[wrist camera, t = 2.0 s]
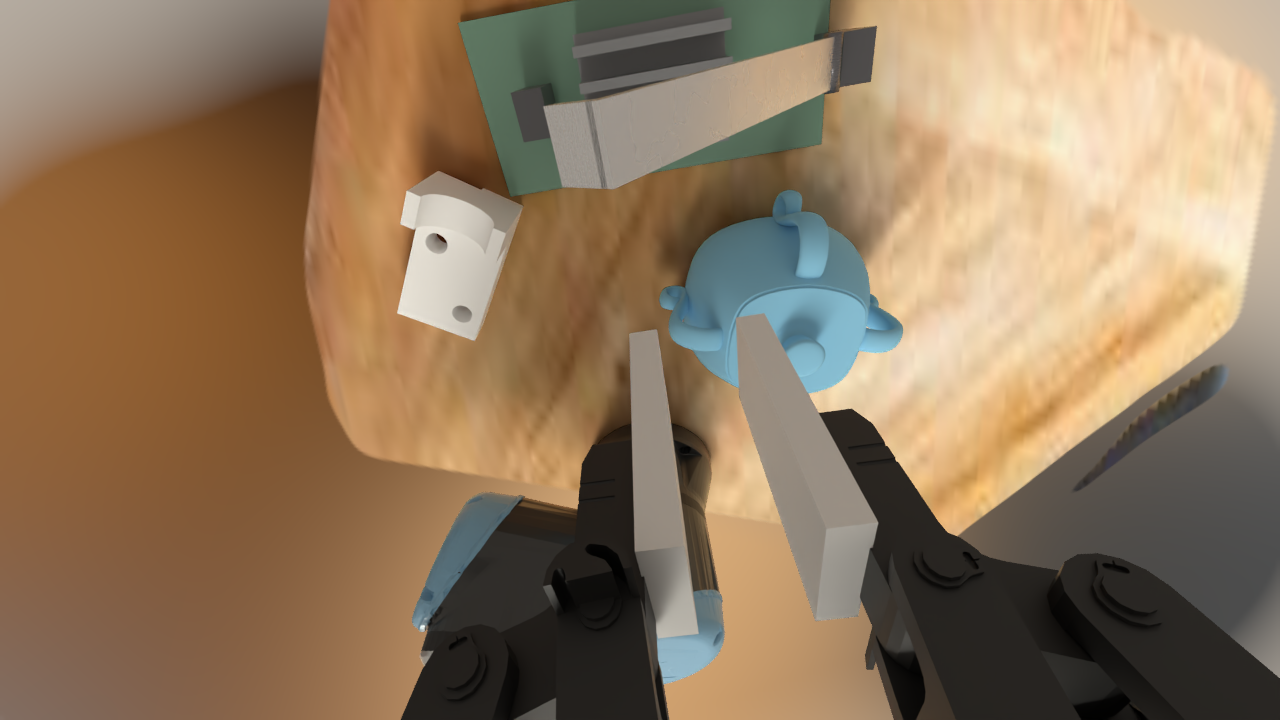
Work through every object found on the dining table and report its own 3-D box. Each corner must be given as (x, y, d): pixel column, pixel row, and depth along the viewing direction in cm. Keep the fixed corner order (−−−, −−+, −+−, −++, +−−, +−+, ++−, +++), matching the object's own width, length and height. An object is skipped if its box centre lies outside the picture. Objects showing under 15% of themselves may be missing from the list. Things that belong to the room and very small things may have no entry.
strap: (796, 93, 32) (841, 89, 30) (563, 192, 18) (621, 195, 16) (798, 37, 30) (846, 29, 28) (541, 100, 16) (603, 92, 15)
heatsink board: (830, 140, 38) (862, 154, 33) (512, 194, 40) (495, 215, 34) (843, -51, 31) (887, -71, 26) (461, 23, 33) (431, 18, 28)
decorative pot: (726, 377, 51) (756, 469, 40) (642, 269, 44) (650, 345, 32) (866, 297, 46) (945, 377, 35) (798, 160, 39) (871, 205, 28)
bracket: (442, 168, 38) (406, 190, 32) (524, 205, 40) (505, 233, 34) (412, 296, 45) (377, 335, 39) (484, 322, 47) (462, 364, 40)
